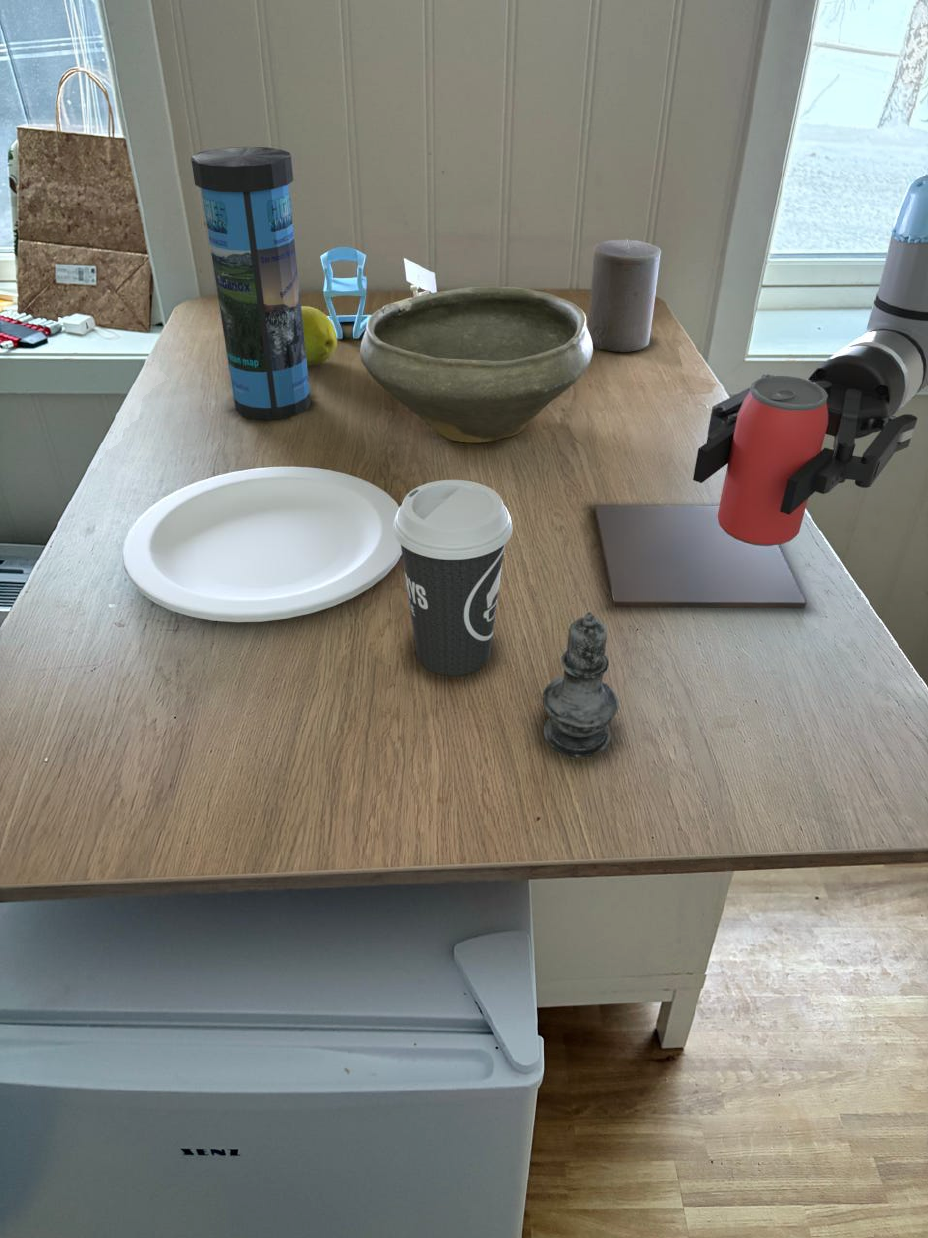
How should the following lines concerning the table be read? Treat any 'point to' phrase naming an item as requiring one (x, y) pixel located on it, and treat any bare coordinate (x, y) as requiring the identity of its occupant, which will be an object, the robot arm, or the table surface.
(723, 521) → the beer can
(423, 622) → the coffee cup
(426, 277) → the white panel on stand
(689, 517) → the back mat
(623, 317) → the pillar candle
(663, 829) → the table surface
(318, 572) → the plate
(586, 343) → the bowl
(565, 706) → the salt shaker
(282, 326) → the advertising column
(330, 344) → the lemon
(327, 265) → the chair
